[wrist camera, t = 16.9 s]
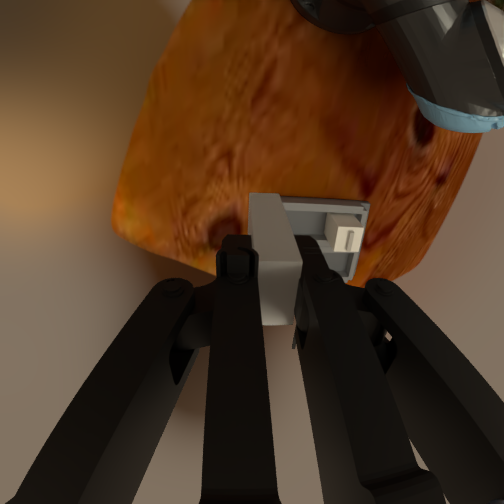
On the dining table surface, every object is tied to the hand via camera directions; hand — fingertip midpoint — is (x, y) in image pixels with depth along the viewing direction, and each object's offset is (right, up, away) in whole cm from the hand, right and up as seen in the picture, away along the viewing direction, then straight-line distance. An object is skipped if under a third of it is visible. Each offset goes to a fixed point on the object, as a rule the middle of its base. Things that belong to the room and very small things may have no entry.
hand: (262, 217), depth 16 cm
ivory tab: (+13, +3, +31) cm, 34 cm away
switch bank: (+10, +1, +34) cm, 35 cm away
